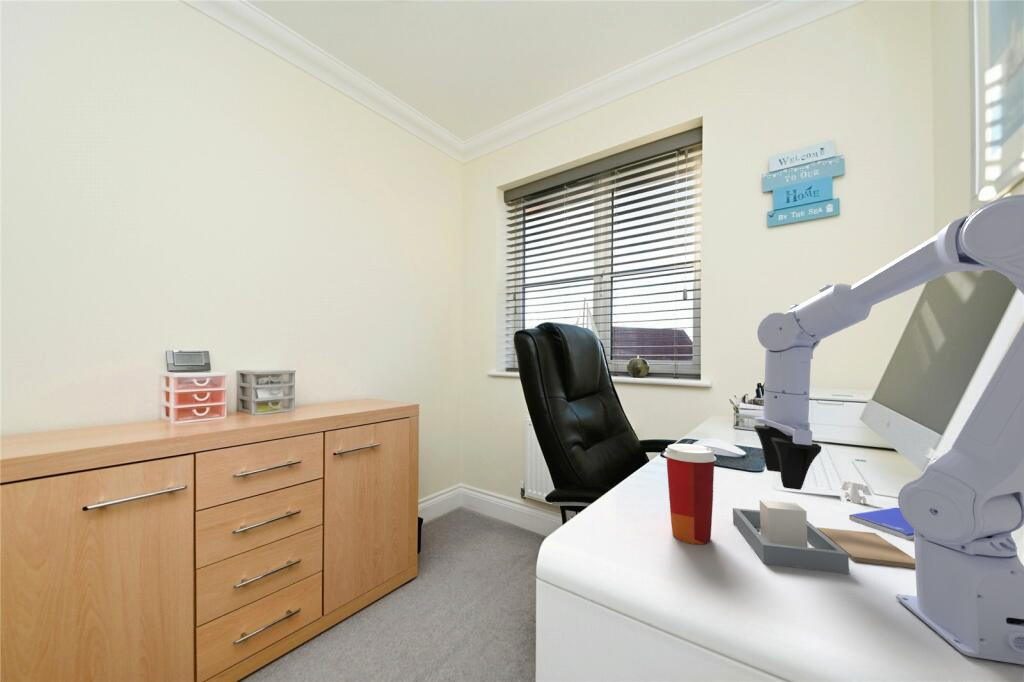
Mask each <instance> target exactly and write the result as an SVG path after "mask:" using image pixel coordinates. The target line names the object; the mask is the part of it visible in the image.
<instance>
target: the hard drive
mask: <svg viewBox="0 0 1024 682" xmlns="http://www.w3.org/2000/svg"><path fill="white" fill-rule="evenodd" d="M848 517H849V518H848V520H849V521H853V522H855V523H857V524H861V525H864V526H867V527H869V528H873V529H874V530H875V529H876V530H878V531H881V532H883V533H886V534H890V535H893V536H895V537H898V538H901V539H904V540H907V541H908V540H914V528H913V527H911V526H910V524H909V523H908V522H907V521H906V520H905V518H904V517H903V515H902V513H901V511H900V509H899V507H890V508H885V509H878V510H877V509H876V510H871V511H866V512H858V513H852V514H849V516H848Z"/></svg>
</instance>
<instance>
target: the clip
mask: <svg viewBox="0 0 1024 682" xmlns="http://www.w3.org/2000/svg"><path fill="white" fill-rule="evenodd" d="M839 489H840V490H842V491H843V490H844V491H848V490H849V493H848V492H845V493H844V496H845V497H844V496H843V497H844V498H847V497H848V501H849V500H850V501H852V502H851V503H853V502H855V503H854V504H864V505H865V504H866V502H867V498H866V496H871V497H872V496H873V494H872V492H871V490H870V488H869V486H868V485H864V484H862V483H857V482H852V481H843V483H842V484H841V485H840V487H839ZM860 491H862V494H863V495H865V496H861V495H860ZM850 501H849V502H850Z"/></svg>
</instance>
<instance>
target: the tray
mask: <svg viewBox="0 0 1024 682" xmlns="http://www.w3.org/2000/svg"><path fill="white" fill-rule="evenodd" d="M732 523H733V524H734V526H735V527H736V529H737V530H738V531H739V532H740V533H741V535H742V536H743V538H744V539H745V540H746V541H747V544H749V546H750V547H751V549H752V550H753V552H754V553H755V554H756V555H757V556H758V558H759V559H760V561H762V563H763V564H764V565H765V564H767V565H775V566H783V567H791V568H800V569H807V570H816V571H822V572H823V571H824V572H831V573H840V574H841V573H842V574H850V562H849V559H850V558H849V557H848V554H847V553H846V552H845V551H844V550H842V549H841V548H840V547H839V546H838V545H836V544H835V543H834V542H833V541H831V540H830V539H829V538H828V537H827V536H825V535H824V534H823V533H822V532H820V531H819V530H818V529H817V527H816V526H814V525H813V524H812V523H810V521H808V520H807V543H808V544H810V545H811V546H812V547H809V546H808V547H799V546H790V545H781V544H772V543H767V542H766V541H765V540H764V538H763V537H762V536H761V533H760V532H759V531H758V530H757V529H756V528H760V509H747V508H736V507H733V508H732ZM755 527H756V528H755Z"/></svg>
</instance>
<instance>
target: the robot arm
mask: <svg viewBox="0 0 1024 682" xmlns="http://www.w3.org/2000/svg"><path fill="white" fill-rule="evenodd" d="M974 271H975V272H976V271H977V272H978V271H979V272H981V271H982V272H983V271H996V272H997V273H999V274H1002V275H1003V276H1005V277H1007V279H1008V280H1009V281H1010V282H1011V283H1012V284H1013V286H1014V287H1016V288H1017V290H1019V291H1020V292H1021V293H1022V295H1024V194H1013V195H1007V196H1004V197H1001V198H997V199H994V200H992V201H990V202H988V203H986V204H984V205H982V206H981V207H979V208H978V209H976V210H975V211H974V212H973V213H971V215H964V216H962V217H960V218H958V219H955V220H953V221H951V222H949V223H948V224H947V225H946V226H945V227H943V228H942V229H941V230H940V231H939V232H937V233H936V234H935V235H933V236H932V237H931V238H929V239H928V240H926V241H924V242H923V243H921V244H919V245H917V246H916V247H915V248H913V249H911V250H909V251H908V252H906V253H904V254H903V255H901V256H899V257H898V258H896V259H894V260H893V261H891V262H889V263H888V264H886V265H885V266H883V267H881V268H879V269H877V270H876V271H875V272H873V273H872V274H870V275H867V276H866V277H864V278H862V279H861V280H860V281H858V282H856V283H855V284H853V285H850V284H847V283H837V284H836V283H835V284H834V285H833V284H832V285H831V284H826V285H824V286H822V287H820V288H819V290H818V292H820V293H818V294H816V295H815V296H813V297H812V298H809V299H807V300H806V301H803V302H802V303H800V304H794V305H792V306H789V310H788V311H787V312H772V313H769V314H768V315H767V316H766V317H764V318H763V319H762V320H761V321H760V323H759V325H758V327H757V334H756V335H757V339H758V341H759V343H760V345H761V346H762V347H763V348H765V357H764V358H765V360H764V385H763V386H764V387H763V408H762V409H763V410H762V411H763V412H762V414H763V415H762V416H754V417H753V418H754V419H753V421H754V422H755V423H757V424H759V425H756V424H755V425H754V427H753V428H754V430H755V432H756V435H757V436H758V438H759V442H760V445H761V448H762V452H763V453H762V455H763V459H764V463H765V468H766V470H767V471H768V472H769V471H770V472H776V473H780V480H781V484H782V487H783V488H784V489H791V490H798V491H801V490H802V488H803V486H804V483H805V480H806V477H807V474H808V472H809V469H810V467H811V466H812V462H814V460H815V459H816V458H817V456H818V455H819V454H820V453H821V452H822V446H821V445H820V444H818V443H814V442H813V431H812V430H811V429H810V427H811V423H810V422H809V412H810V391H811V390H810V389H811V388H810V387H811V385H810V384H811V364H812V363H811V362H812V361H811V360H813V358H814V356H813V355H814V351H815V349H816V348H817V347H818V346H819V344H820V343H821V341H822V340H823V339H825V338H827V337H830V336H832V335H834V334H836V333H839V332H841V331H843V330H845V329H848V328H850V327H851V326H854V325H856V324H858V323H860V322H863V321H864V320H865V321H866V320H867V318H868V317H869V315H870V313H871V309H872V307H873V306H874V305H877V304H879V303H881V302H883V301H886V300H888V299H890V298H893V297H895V296H898V295H900V294H902V293H905V292H908V291H910V290H912V289H915V288H916V287H918V286H921V285H924V284H925V283H928V282H930V281H933V280H935V279H937V278H940V277H942V276H944V275H947V274H949V273H955V272H957V273H958V272H974ZM760 424H763V425H760ZM897 504H898V505H897V506H898V508H899V509H900V511H901V513H902V515H903V517H904V518H905V520H906V521H907V522H908V523H909V524H910V526H911V527H913V528H914V539H913V541H914V543H913V544H914V546H913V547H914V559H915V567H916V568H915V583H916V584H915V587H916V596H915V595H908V594H901V593H900V594H899V593H898V594H896V595H895V599H897V600H898V601H899V602H900V603H902V604H903V605H904V606H905V607H906V608H907V609H909V610H910V611H911V612H912V613H913V614H914V615H916V616H917V617H918V618H919V619H920V620H921V621H923V622H924V623H925V624H927V625H928V626H929V627H930V628H931V629H933V630H934V631H935V632H936V633H937V634H938V635H940V636H941V637H942V638H943V639H944V640H946V641H947V642H948V643H950V645H951V646H953V647H954V648H955V649H957V651H959V652H960V653H962V655H965V656H968V657H970V658H971V657H972V658H977V659H978V658H979V659H983V660H984V659H986V660H991V661H999V662H1003V663H1004V662H1005V663H1008V664H1009V663H1010V664H1018V665H1023V666H1024V564H1023V563H1022V562H1021V559H1020V557H1019V556H1018V548H1017V544H1016V542H1015V540H1014V539H1013V536H1012V533H1014V532H1015V531H1018V530H1019V529H1021V528H1022V527H1023V526H1024V321H1023V322H1022V324H1021V326H1020V328H1019V329H1018V331H1017V333H1016V334H1015V336H1014V338H1013V340H1012V342H1011V343H1010V344H1009V346H1008V349H1007V350H1006V351H1005V353H1004V355H1003V357H1002V358H1001V361H1000V362H999V364H998V365H997V368H996V370H995V371H994V372H993V374H992V376H991V378H990V379H989V381H988V383H987V385H986V386H985V388H984V390H983V392H982V393H981V395H980V397H979V398H978V400H977V402H976V404H975V405H974V407H973V409H972V411H971V412H970V415H969V416H968V418H967V419H966V421H965V423H964V425H963V426H962V428H961V430H960V432H959V433H958V435H957V437H956V439H955V441H954V442H953V443H952V446H951V447H950V448H949V449H947V450H946V451H945V452H944V453H942V454H941V455H940V456H938V457H937V458H936V459H934V460H933V461H932V462H931V463H930V464H928V465H927V467H926V469H925V470H924V472H923V474H922V475H920V476H919V477H918V478H917V479H915V480H912V481H909V482H907V483H906V484H904V485H903V486H902V488H901V489H900V490H899V493H898V496H897Z"/></svg>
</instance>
